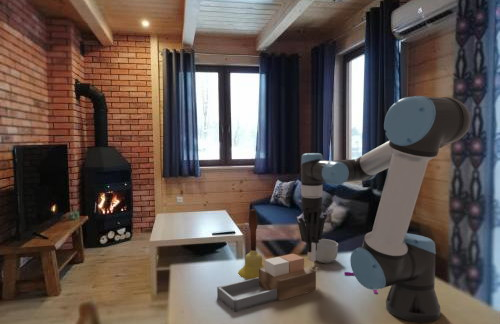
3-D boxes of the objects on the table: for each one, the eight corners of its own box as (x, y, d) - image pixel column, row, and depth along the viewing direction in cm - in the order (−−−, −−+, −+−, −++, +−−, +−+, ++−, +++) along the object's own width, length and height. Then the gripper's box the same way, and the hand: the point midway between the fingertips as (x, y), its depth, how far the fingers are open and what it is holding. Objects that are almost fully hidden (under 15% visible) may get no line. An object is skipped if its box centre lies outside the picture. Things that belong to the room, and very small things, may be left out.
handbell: (276, 273, 147) (275, 209, 145) (252, 282, 138) (251, 214, 136) (254, 265, 156) (253, 205, 154) (231, 272, 147) (230, 209, 145)
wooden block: (315, 290, 131) (315, 271, 130) (280, 300, 123) (280, 281, 122) (293, 277, 142) (293, 260, 141) (259, 286, 134) (258, 268, 134)
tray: (277, 299, 124) (277, 289, 123) (234, 311, 116) (234, 300, 115) (257, 286, 134) (257, 277, 134) (217, 297, 126) (217, 287, 126)
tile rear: (304, 269, 132) (303, 258, 132) (290, 272, 129) (290, 261, 129) (293, 264, 138) (293, 253, 137) (280, 267, 135) (279, 256, 134)
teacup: (328, 255, 167) (328, 237, 166) (343, 263, 157) (343, 244, 156) (300, 259, 162) (300, 241, 161) (314, 267, 152) (314, 248, 151)
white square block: (288, 273, 129) (288, 261, 129) (274, 276, 126) (274, 264, 126) (278, 267, 134) (278, 256, 134) (264, 271, 131) (264, 259, 131)
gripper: (318, 193, 142) (318, 254, 145) (290, 196, 136) (291, 260, 138) (332, 195, 136) (332, 259, 138) (304, 199, 129) (303, 266, 132)
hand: (311, 260), depth 138 cm, fingers closed
